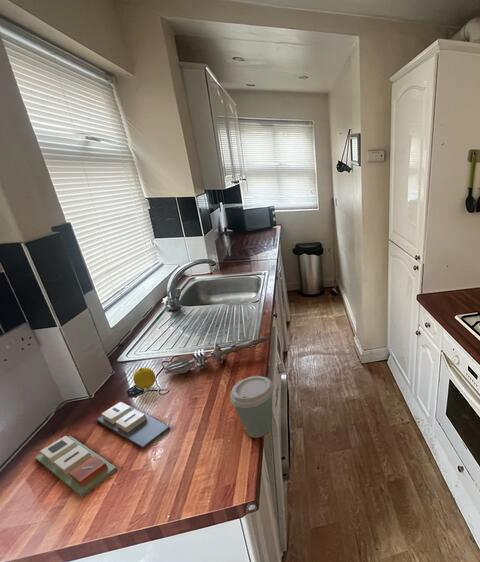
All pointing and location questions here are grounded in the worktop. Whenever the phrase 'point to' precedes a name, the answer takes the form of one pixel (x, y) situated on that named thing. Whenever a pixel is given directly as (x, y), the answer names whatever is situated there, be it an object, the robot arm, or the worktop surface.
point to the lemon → (144, 378)
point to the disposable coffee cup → (254, 404)
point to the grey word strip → (140, 431)
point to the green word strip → (71, 481)
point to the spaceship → (184, 364)
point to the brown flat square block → (88, 470)
